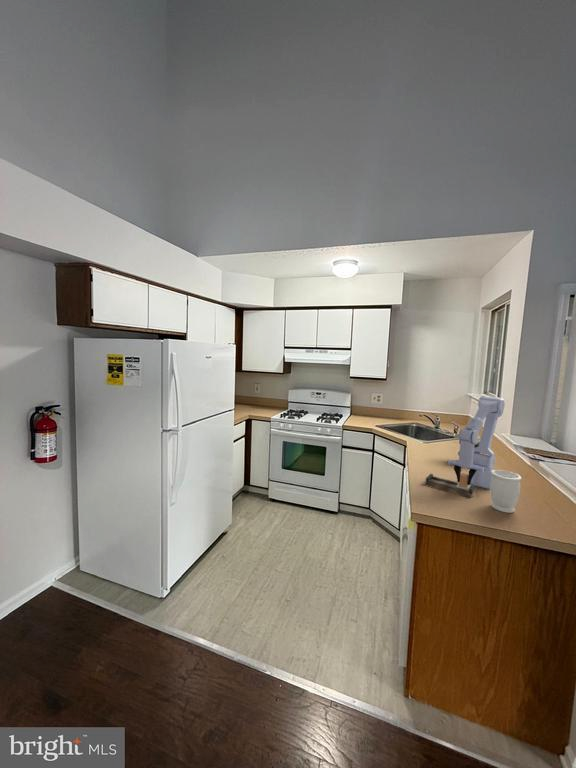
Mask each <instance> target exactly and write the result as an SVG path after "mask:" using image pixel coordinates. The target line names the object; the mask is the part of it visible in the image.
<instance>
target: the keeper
mask: <svg viewBox="0 0 576 768" xmlns="http://www.w3.org/2000/svg"><path fill="white" fill-rule="evenodd" d="M468 479H469V473H468V474H467V473H464V472H462V473H461V475H460V482H457V483H458V484H457V488H461V489H465V490H468V491H469V489H470V488H471V486H472V485H471V484H470V485H468Z"/></svg>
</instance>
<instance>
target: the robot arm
mask: <svg viewBox="0 0 576 768" xmlns="http://www.w3.org/2000/svg"><path fill="white" fill-rule="evenodd" d="M477 404H478V405H477V406H478V409H477V411H476V413H475V415H474V417H471V418H469V421H468V422H467V423H466V425H465V427H464V428H462V429H460V430H459V432H458V435H457V436H458V444H459V451H460V452H459V451H458V452H459V455H458V460H452V459H448V461H447V465H448V466H453V470H454V473H455V475H456V480H457V483H459V482H460V475H461V474H462V473H461V472H462V468H463V469H467V470H468V475H469V479H468V485H471V486H472V484H473V485H475V487H479V488H483V489H487V490H490V483H491V479H492V476H493V475H492V471H493V470H494V469H493V468H494V466H495V464H496V454H495V453H494V452H493V450H491V446H492V443H493V438H494V434H495V430H496V425H497V423H498V419H499V417H502V415H503V414H504V410H505V400H504V398H501V397H500V398H499V397H492V396H484V395H482V396H480V397H479V399H478V403H477ZM484 419H485V420H484ZM483 421H484V422H483ZM482 427H483V428H482ZM481 429H482V430H481ZM480 430H481V431H482V432H481V436H480V434H479V432H480ZM478 435H479V436H480V443H479V446H478V447H476V448H474V444H475V442H476V441H477V439H478Z"/></svg>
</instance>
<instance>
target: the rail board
mask: <svg viewBox="0 0 576 768" xmlns="http://www.w3.org/2000/svg"><path fill="white" fill-rule="evenodd" d="M458 483H459V482H458V481H457V482H456V481H453V480H449V479H445V478H441V477H437V476H434V474H433V473H430V474H429V475H427V477H425V483H424V485H425V486H426V485H427V487H430V486H431V488H433V487H434V488H435V489H437V490H441V491H445V492H448V493H452V494H455V495H459V496H463V497H466V498H469V499H472V497H473V496H474V495H475V493H476V486H475V485H473V484H472V485H471V488H470V489H469V491H468V490H465V489H461V488H457V484H458ZM434 488H433V489H434Z"/></svg>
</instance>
